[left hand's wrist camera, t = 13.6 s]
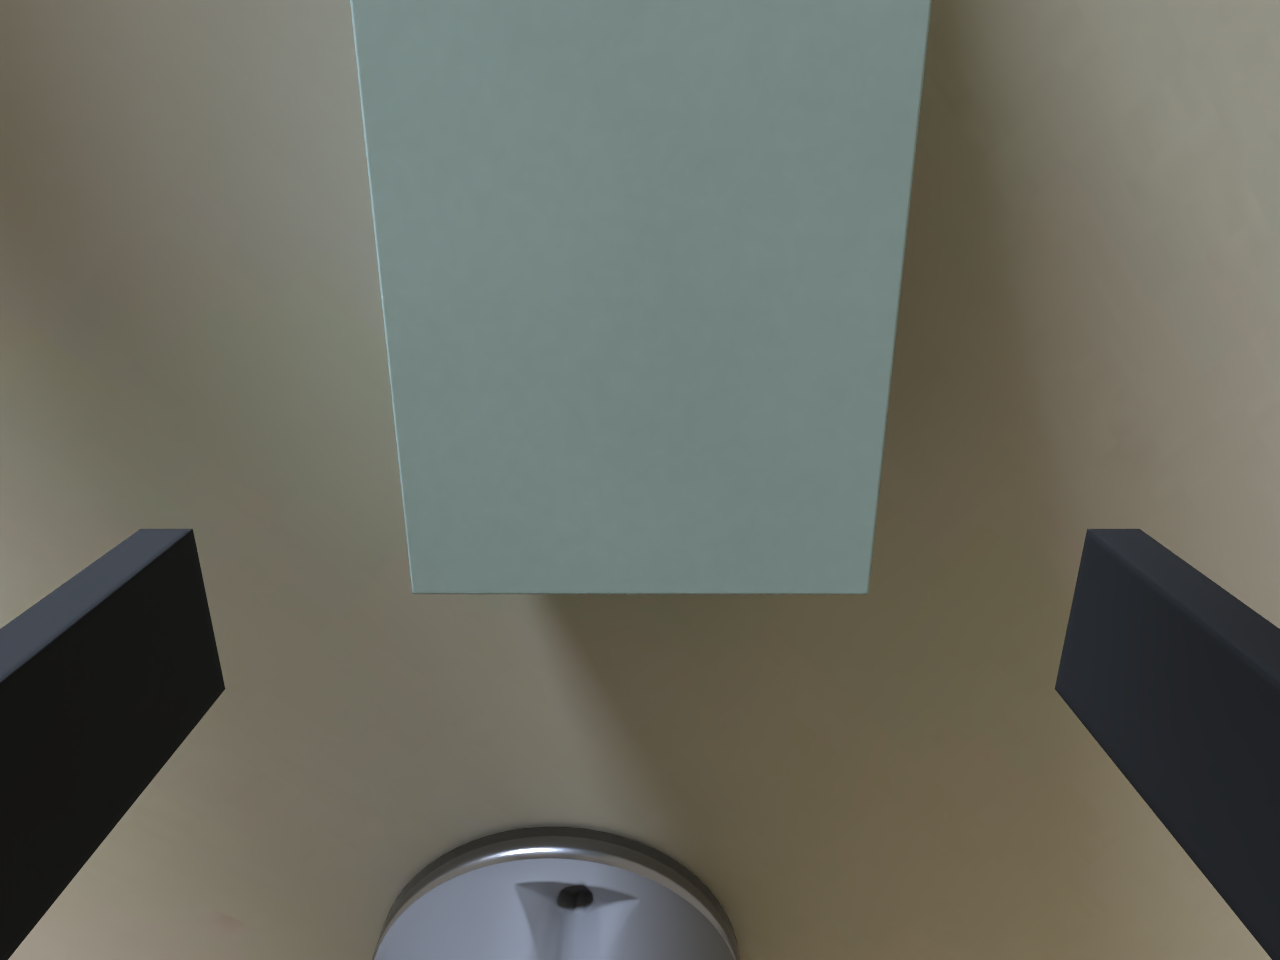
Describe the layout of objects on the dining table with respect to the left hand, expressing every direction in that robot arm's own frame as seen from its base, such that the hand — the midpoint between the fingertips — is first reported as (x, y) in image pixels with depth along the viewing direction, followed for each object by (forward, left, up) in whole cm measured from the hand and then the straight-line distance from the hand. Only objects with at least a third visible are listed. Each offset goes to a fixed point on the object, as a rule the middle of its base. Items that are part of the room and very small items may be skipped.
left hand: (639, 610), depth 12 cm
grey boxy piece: (+4, -3, -15) cm, 16 cm away
